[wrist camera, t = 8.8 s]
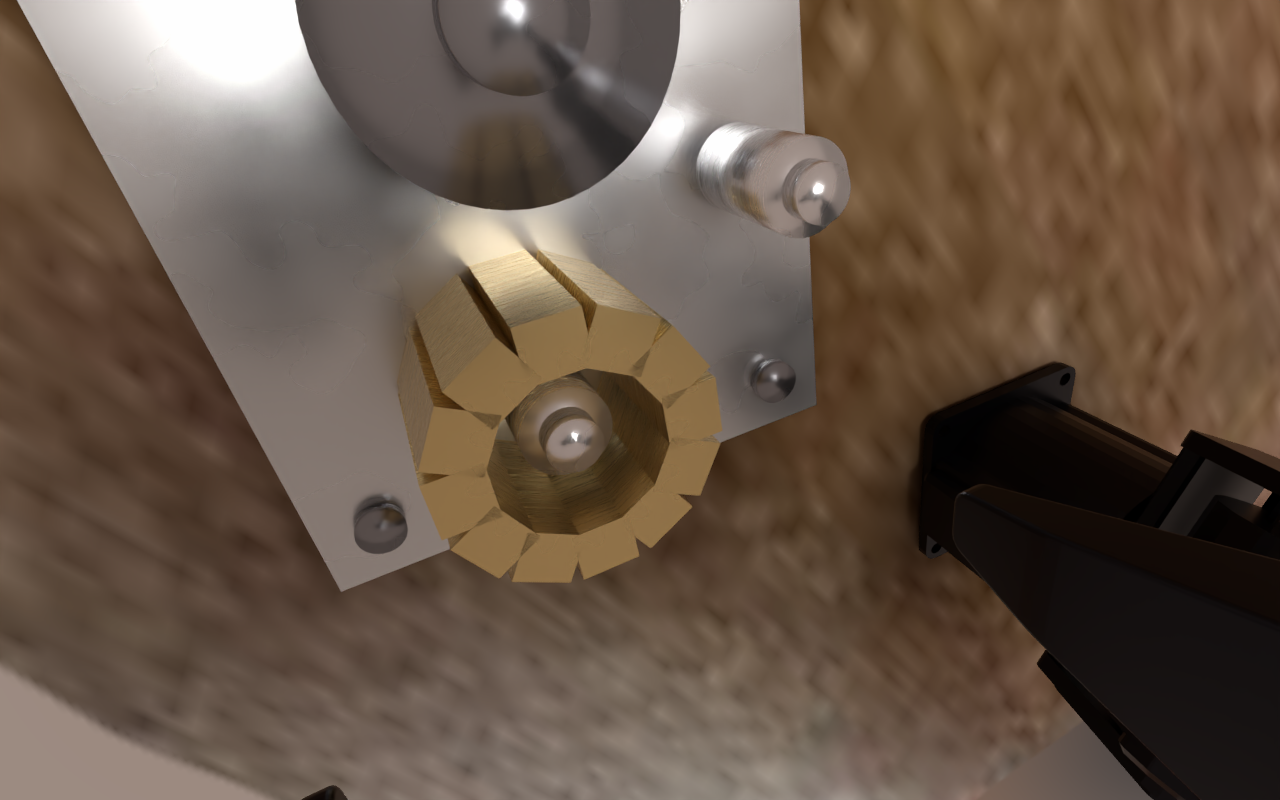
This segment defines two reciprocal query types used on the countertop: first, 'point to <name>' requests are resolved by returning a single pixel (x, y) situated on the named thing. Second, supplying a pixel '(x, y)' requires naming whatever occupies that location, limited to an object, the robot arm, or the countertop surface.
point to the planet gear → (507, 372)
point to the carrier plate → (453, 205)
